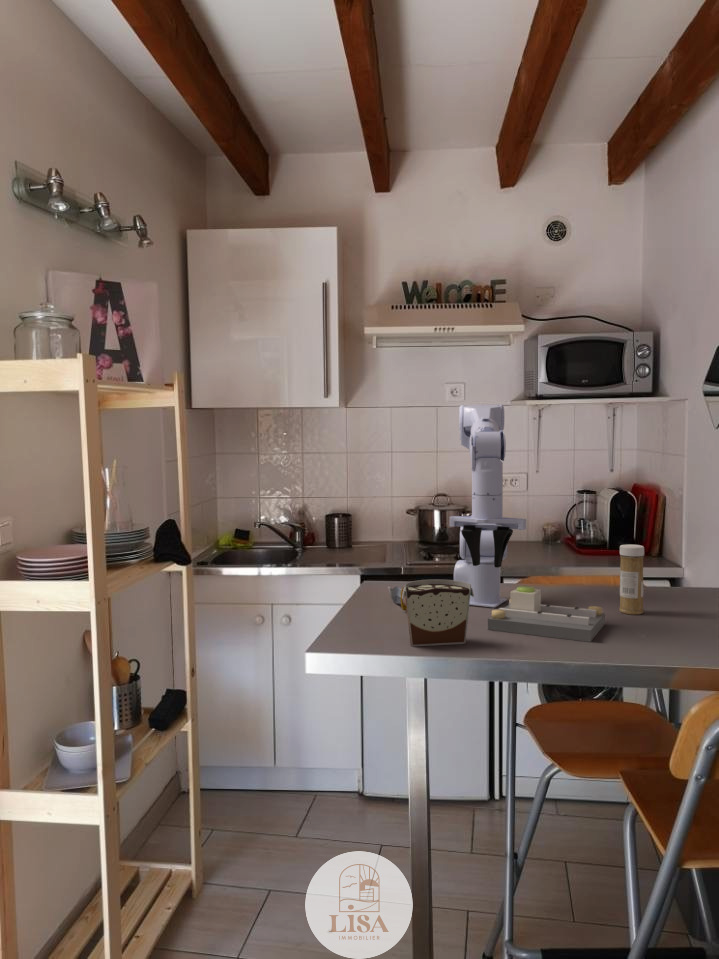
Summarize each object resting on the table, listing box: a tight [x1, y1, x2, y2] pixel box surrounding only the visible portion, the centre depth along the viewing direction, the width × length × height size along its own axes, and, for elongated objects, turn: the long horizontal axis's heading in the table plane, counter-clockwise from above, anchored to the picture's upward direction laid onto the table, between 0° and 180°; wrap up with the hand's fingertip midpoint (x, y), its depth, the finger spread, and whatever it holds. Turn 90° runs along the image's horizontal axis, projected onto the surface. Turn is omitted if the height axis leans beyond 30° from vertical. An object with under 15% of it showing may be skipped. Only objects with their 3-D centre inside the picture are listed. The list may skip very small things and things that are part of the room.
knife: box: [387, 585, 407, 612], centre depth 146 cm, size 25×1×5 cm, turn 10°
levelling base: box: [487, 598, 606, 643], centre depth 131 cm, size 18×14×3 cm
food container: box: [402, 579, 474, 647], centre depth 122 cm, size 12×6×10 cm, turn 100°
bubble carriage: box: [509, 585, 542, 612], centre depth 133 cm, size 4×5×5 cm
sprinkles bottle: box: [619, 543, 645, 616], centre depth 142 cm, size 5×5×13 cm
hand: (487, 566), depth 136 cm, fingers open, 4 cm apart
